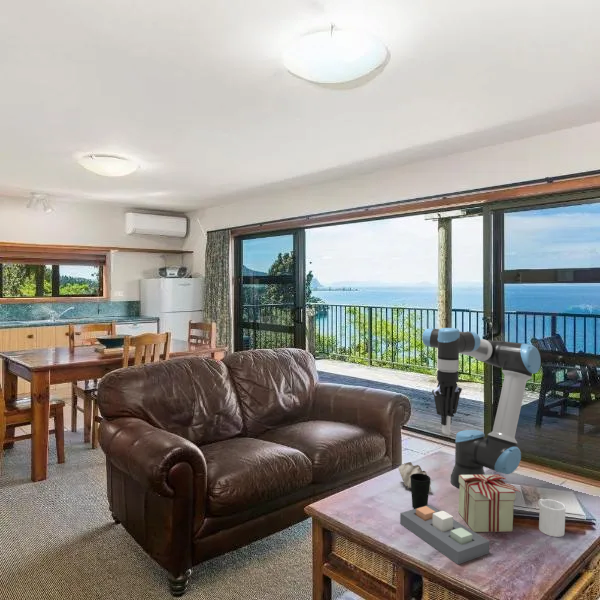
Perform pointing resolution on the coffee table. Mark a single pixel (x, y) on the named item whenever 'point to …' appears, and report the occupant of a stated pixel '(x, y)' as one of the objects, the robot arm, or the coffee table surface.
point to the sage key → (461, 536)
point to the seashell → (410, 473)
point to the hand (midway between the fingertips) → (446, 433)
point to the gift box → (486, 502)
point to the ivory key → (442, 521)
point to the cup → (419, 490)
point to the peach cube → (425, 513)
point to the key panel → (445, 537)
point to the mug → (551, 517)
